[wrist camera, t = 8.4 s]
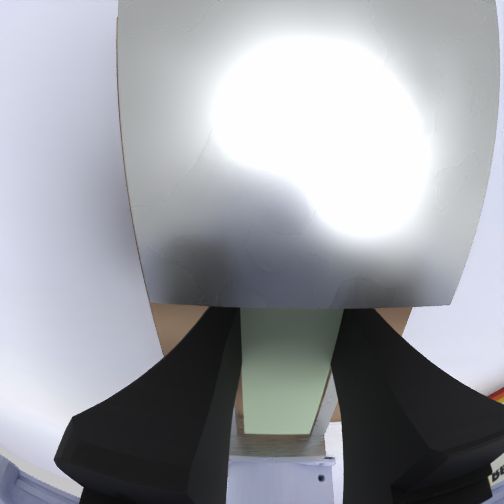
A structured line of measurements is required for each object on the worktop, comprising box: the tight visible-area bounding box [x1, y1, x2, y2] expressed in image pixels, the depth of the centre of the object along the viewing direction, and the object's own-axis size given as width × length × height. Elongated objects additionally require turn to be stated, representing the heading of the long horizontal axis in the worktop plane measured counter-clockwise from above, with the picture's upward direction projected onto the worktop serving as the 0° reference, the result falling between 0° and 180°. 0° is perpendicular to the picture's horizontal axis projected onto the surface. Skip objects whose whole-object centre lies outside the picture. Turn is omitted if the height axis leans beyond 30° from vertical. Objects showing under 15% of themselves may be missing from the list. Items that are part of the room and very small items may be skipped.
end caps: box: [117, 0, 500, 463], centre depth 10 cm, size 22×6×6 cm, turn 0°
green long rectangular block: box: [240, 307, 344, 434], centre depth 11 cm, size 13×3×4 cm, turn 0°
